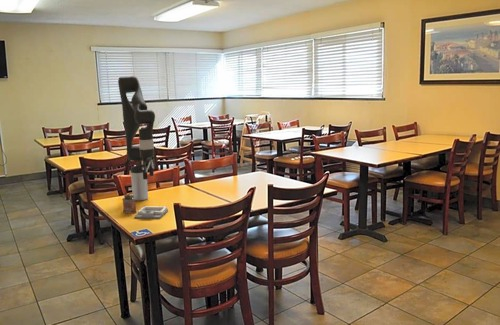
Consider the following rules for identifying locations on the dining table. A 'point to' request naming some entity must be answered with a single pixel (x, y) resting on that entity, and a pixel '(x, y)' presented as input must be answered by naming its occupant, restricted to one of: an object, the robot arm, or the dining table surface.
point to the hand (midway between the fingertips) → (148, 177)
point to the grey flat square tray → (151, 212)
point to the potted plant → (129, 204)
